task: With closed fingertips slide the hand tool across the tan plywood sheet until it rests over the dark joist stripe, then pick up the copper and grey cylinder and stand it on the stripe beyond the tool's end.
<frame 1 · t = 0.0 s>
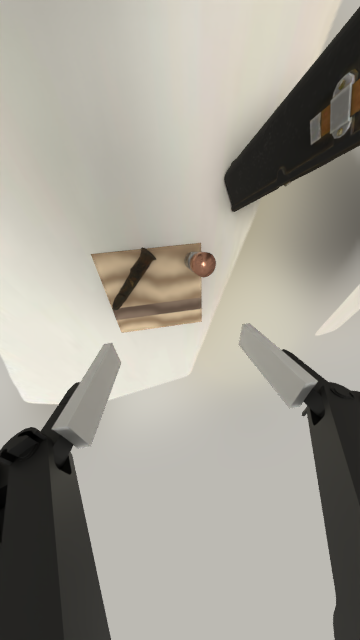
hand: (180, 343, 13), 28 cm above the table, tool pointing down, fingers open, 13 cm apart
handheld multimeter: (256, 174, 28), on the table
hand tool: (134, 282, 36), resting on plywood sheet
copper and grey cylinder: (192, 260, 35), resting on plywood sheet
plywood sheet: (156, 293, 38), on the table
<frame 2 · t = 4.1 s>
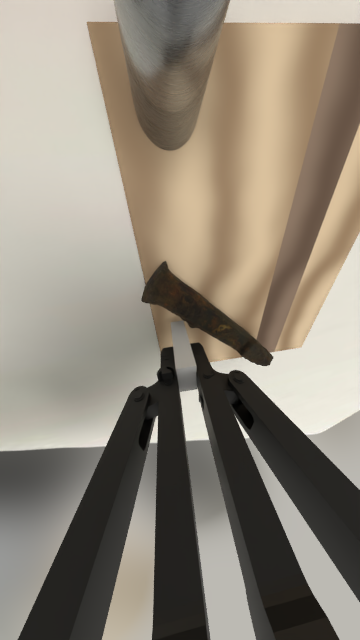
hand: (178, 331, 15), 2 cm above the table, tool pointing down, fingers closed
hand tool: (215, 313, 17), resting on plywood sheet, touching gripper
copper and grey cylinder: (166, 99, 8), resting on plywood sheet
plywood sheet: (249, 270, 15), on the table
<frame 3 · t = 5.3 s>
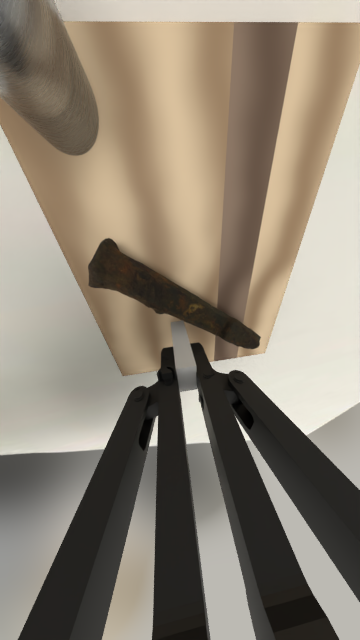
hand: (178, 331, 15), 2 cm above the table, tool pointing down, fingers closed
hand tool: (188, 301, 15), resting on plywood sheet, touching gripper
copper and grey cylinder: (59, 102, 8), resting on plywood sheet
plywood sheet: (192, 276, 14), on the table
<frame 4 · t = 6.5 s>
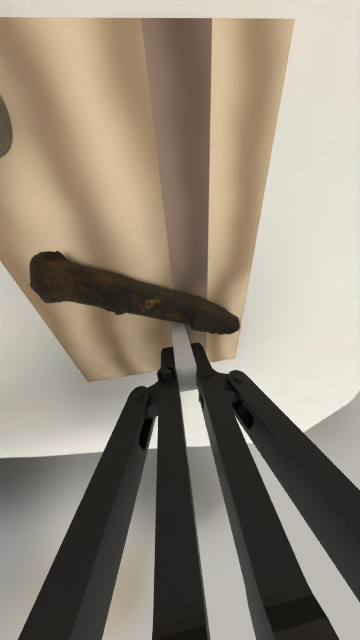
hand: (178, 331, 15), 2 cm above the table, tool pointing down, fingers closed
hand tool: (159, 290, 15), resting on plywood sheet, touching gripper
plywood sheet: (144, 282, 14), on the table
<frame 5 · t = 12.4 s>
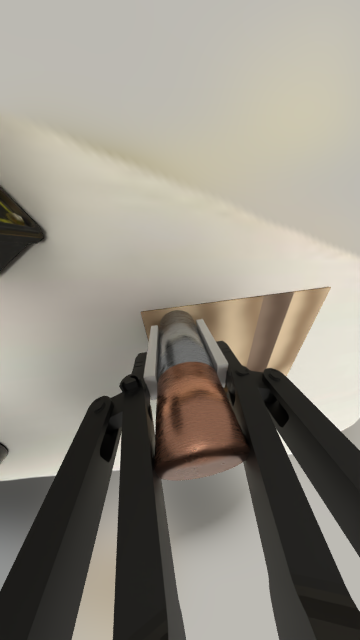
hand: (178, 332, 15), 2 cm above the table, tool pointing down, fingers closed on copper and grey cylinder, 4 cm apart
copper and grey cylinder: (177, 325, 16), resting on plywood sheet, touching gripper
plywood sheet: (228, 373, 22), on the table
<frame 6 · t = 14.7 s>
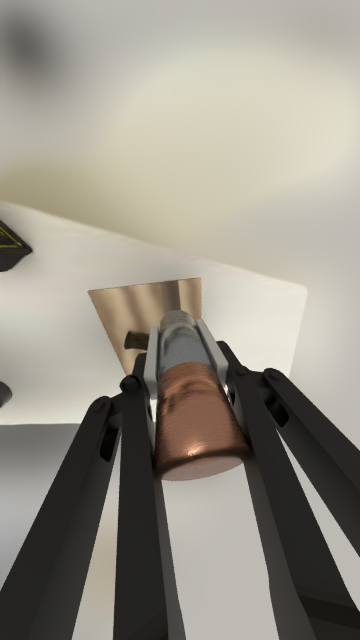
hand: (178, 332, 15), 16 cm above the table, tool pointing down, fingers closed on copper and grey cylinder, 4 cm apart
hand tool: (163, 338, 35), resting on plywood sheet
copper and grey cylinder: (177, 325, 16), point 15 cm above the table, touching gripper
plywood sheet: (157, 336, 34), on the table
when the fingers open (3 cm above the table, at t = 17.2 s): copper and grey cylinder drops 1 cm, resting on plywood sheet.
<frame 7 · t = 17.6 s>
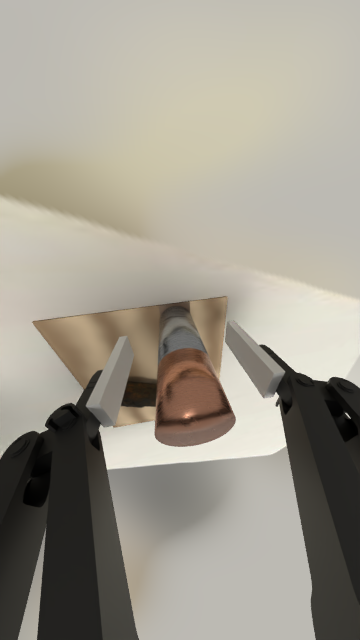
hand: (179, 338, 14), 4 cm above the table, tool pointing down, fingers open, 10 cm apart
hand tool: (164, 381, 23), resting on plywood sheet
copper and grey cylinder: (175, 320, 17), resting on plywood sheet
plywood sheet: (155, 379, 23), on the table
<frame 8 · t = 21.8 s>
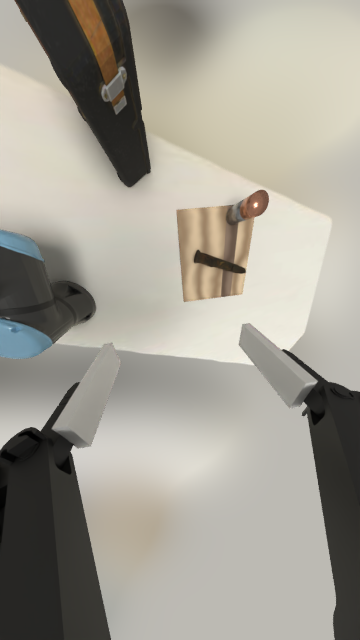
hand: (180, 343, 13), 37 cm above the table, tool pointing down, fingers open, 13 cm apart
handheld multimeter: (119, 142, 29), on the table
hand tool: (219, 262, 45), resting on plywood sheet
copper and grey cylinder: (232, 215, 38), resting on plywood sheet
plywood sheet: (214, 259, 44), on the table
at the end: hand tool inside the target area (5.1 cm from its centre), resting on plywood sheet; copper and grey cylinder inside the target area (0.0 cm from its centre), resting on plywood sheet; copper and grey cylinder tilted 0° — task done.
